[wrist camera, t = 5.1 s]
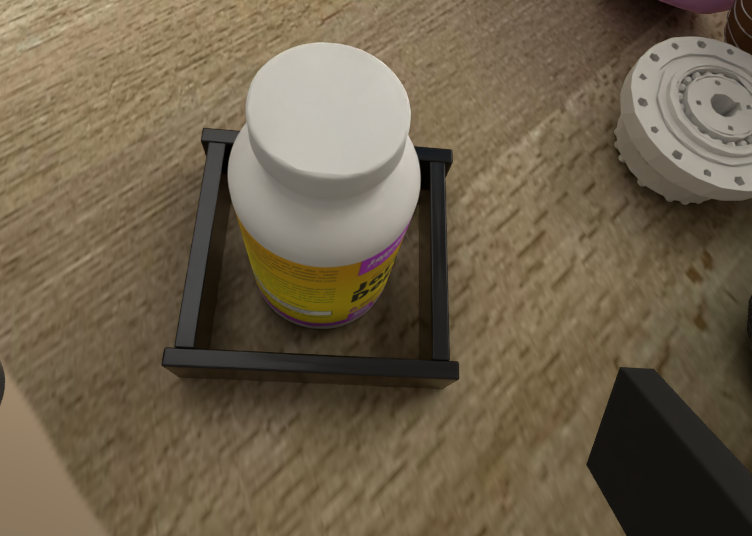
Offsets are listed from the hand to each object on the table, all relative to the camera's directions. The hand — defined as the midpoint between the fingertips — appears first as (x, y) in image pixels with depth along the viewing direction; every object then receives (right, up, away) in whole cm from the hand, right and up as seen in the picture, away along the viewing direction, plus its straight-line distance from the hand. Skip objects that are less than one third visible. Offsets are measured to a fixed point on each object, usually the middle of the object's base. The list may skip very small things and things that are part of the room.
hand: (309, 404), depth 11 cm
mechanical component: (+20, +6, +17) cm, 26 cm away
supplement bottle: (-1, +3, +16) cm, 16 cm away
